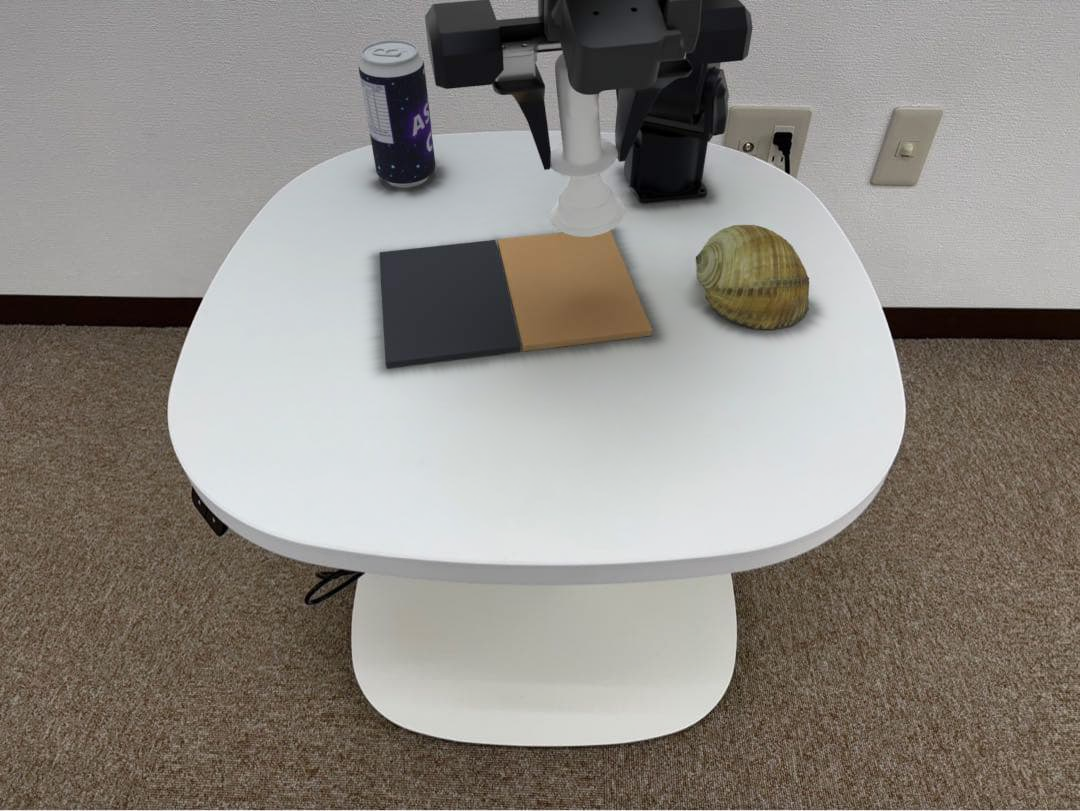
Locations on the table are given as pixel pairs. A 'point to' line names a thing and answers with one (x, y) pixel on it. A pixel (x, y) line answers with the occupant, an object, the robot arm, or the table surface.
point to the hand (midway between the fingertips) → (583, 162)
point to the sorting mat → (506, 297)
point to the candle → (582, 164)
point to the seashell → (753, 277)
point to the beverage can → (397, 112)
